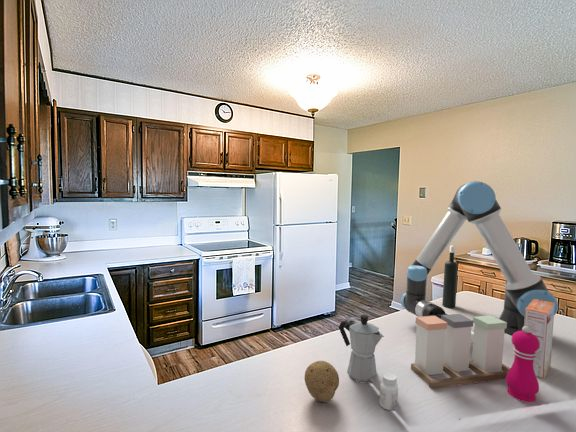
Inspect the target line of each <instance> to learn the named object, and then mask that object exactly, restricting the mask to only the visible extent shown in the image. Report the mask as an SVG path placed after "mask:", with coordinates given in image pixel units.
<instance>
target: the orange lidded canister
mask: <svg viewBox="0 0 576 432" xmlns="http://www.w3.org/2000/svg"><path fill="white" fill-rule="evenodd" d="M415 323H416V335H415V336H416V338H415V352H414V353H415V357H414V364H416V365H417V366H418V367H419V368H420V369H421V370H423V371H424V372H425V373H426V374H427V375H429V376H433V375H441V374H444V372H443V363H444V346H445V330H446V329H447V324H448V323H447V322H445V321H443V320H442V319H440V318H438V317H436V316H423V317H418V316H415Z"/></svg>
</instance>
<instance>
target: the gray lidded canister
mask: <svg viewBox="0 0 576 432" xmlns="http://www.w3.org/2000/svg"><path fill="white" fill-rule="evenodd" d="M441 319H442V320H443V321H445V322H447V323H448V324H447V329H446V330H445V346H444V364H445V365H447V366H448V367H449V368H451V369H452V370H453V371H455V372H456V373H457V372H458V373H459V372H463V371H464V372H465V371H469V370H470V369H469V361H470V352H471V341H470V340H471V331H472V327H473V328H474V323H473V319H471V318H469V317H467V316H465V315H463V314H462V313H453V314H452V313H451V314H448V315H441Z"/></svg>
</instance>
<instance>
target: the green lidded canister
mask: <svg viewBox="0 0 576 432" xmlns="http://www.w3.org/2000/svg"><path fill="white" fill-rule="evenodd" d="M472 320H473V332H474V338H473V342H472V352H471V353H472V355H471V356H472V357H471V359H472V360H471V362H472V363H473V364H475V365H476V366H478V367H479V368H481V369H482V370H484V371H485V372H487V373H493V372H501V371H502V364H503V358H504V357H503V356H504V344H505V343H504V340H505V332H504V331H505V329H506V328H507V322H505V321H502V320H500V319H499V318H498V317H496V316H493V315H480V316H473V317H472Z"/></svg>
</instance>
